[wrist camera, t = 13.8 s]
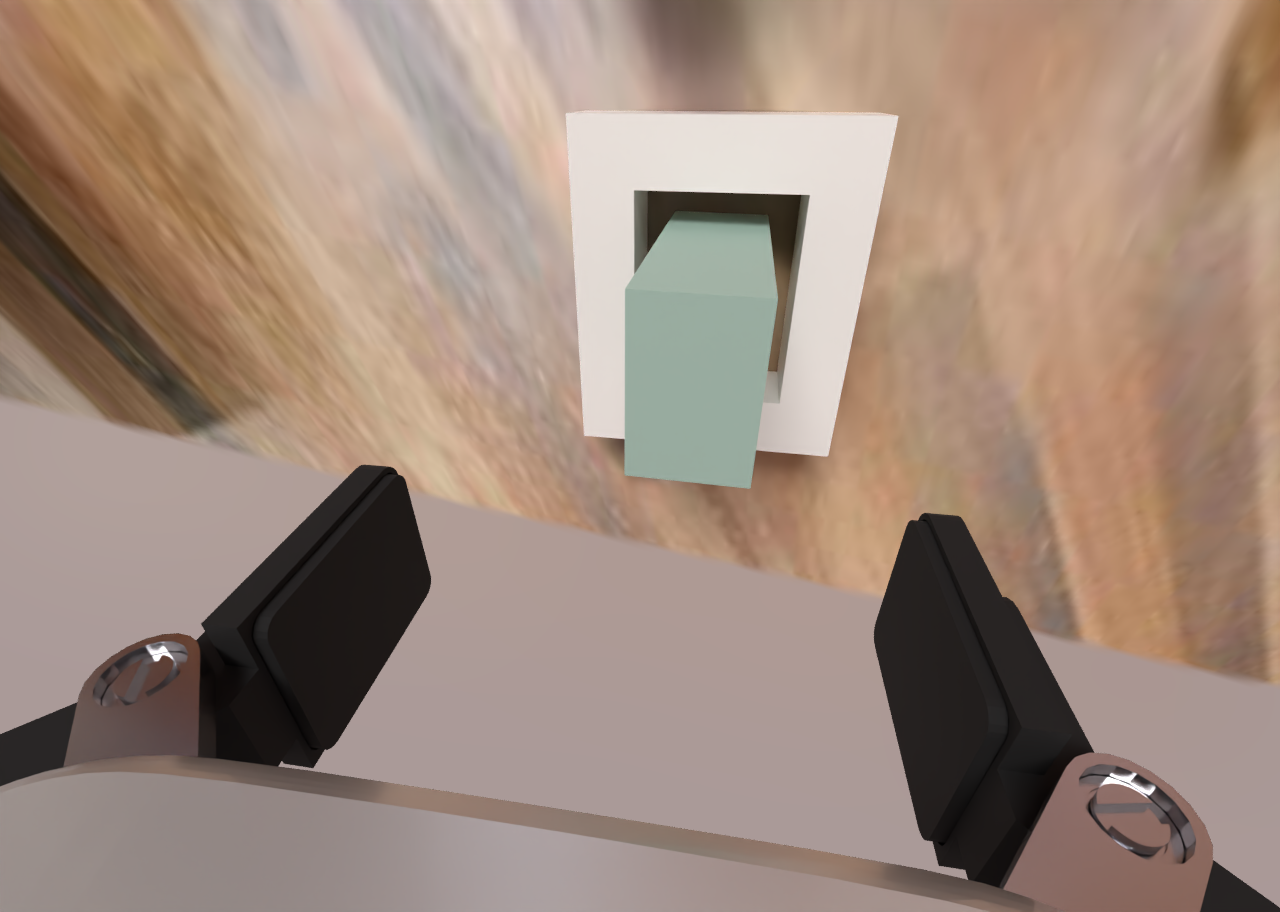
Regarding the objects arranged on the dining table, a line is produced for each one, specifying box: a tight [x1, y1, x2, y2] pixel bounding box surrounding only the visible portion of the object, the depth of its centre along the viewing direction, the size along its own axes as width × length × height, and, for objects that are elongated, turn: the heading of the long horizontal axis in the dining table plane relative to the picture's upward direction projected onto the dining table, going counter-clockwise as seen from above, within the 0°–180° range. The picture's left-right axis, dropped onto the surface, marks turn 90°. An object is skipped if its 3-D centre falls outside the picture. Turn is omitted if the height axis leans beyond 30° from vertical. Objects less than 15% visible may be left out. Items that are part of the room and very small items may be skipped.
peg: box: [625, 211, 778, 489], centre depth 22 cm, size 4×6×12 cm, turn 179°
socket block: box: [566, 110, 898, 457], centre depth 25 cm, size 12×14×4 cm
